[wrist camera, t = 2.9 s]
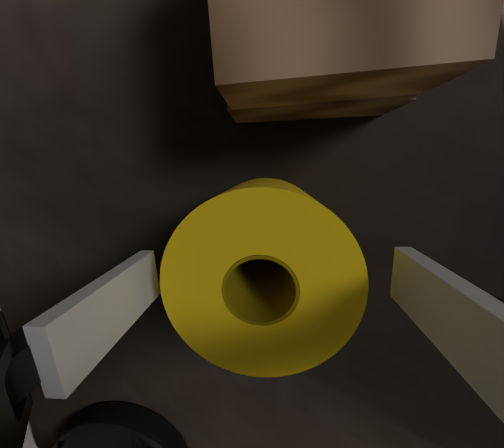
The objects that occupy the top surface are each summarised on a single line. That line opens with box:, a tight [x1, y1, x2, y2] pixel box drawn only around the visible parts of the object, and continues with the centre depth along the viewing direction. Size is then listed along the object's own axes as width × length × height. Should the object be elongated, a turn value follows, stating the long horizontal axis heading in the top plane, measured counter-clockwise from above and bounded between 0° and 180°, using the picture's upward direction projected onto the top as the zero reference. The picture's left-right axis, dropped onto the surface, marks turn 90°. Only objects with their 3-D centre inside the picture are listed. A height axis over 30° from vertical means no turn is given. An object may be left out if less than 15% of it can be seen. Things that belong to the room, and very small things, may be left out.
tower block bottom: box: [227, 94, 417, 123], centre depth 15 cm, size 11×11×4 cm
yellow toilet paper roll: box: [160, 178, 368, 377], centre depth 16 cm, size 10×10×9 cm
